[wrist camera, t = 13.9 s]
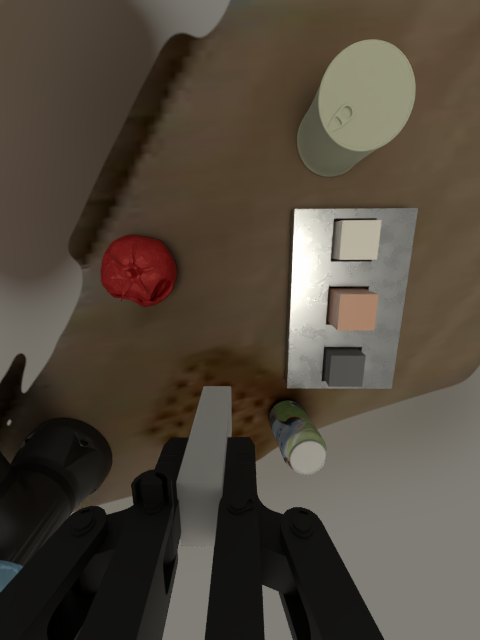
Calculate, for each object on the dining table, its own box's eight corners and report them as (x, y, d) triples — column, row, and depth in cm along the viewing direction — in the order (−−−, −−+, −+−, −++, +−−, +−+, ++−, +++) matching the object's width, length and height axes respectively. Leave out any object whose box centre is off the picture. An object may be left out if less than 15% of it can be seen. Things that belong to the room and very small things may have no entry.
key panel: (284, 379, 48) (287, 388, 45) (291, 211, 41) (294, 209, 38) (382, 379, 47) (391, 388, 44) (405, 210, 41) (417, 208, 38)
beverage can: (260, 413, 49) (265, 465, 38) (292, 385, 48) (307, 431, 36) (285, 435, 50) (297, 493, 39) (317, 409, 49) (340, 461, 37)
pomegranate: (107, 243, 43) (68, 242, 34) (171, 228, 42) (149, 222, 33) (127, 308, 45) (96, 323, 36) (189, 294, 44) (173, 306, 35)
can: (282, 133, 38) (299, 86, 27) (341, 81, 37) (385, 7, 25) (322, 191, 40) (354, 171, 29) (380, 144, 39) (438, 102, 27)
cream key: (328, 257, 42) (339, 259, 37) (331, 222, 41) (342, 220, 36) (361, 257, 42) (377, 259, 37) (365, 222, 41) (381, 220, 36)
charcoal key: (320, 371, 47) (328, 386, 42) (322, 343, 45) (331, 355, 41) (350, 371, 47) (362, 386, 42) (352, 343, 45) (365, 355, 41)
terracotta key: (326, 320, 43) (337, 330, 38) (329, 288, 42) (340, 294, 37) (359, 320, 43) (374, 330, 38) (363, 288, 41) (378, 294, 37)
